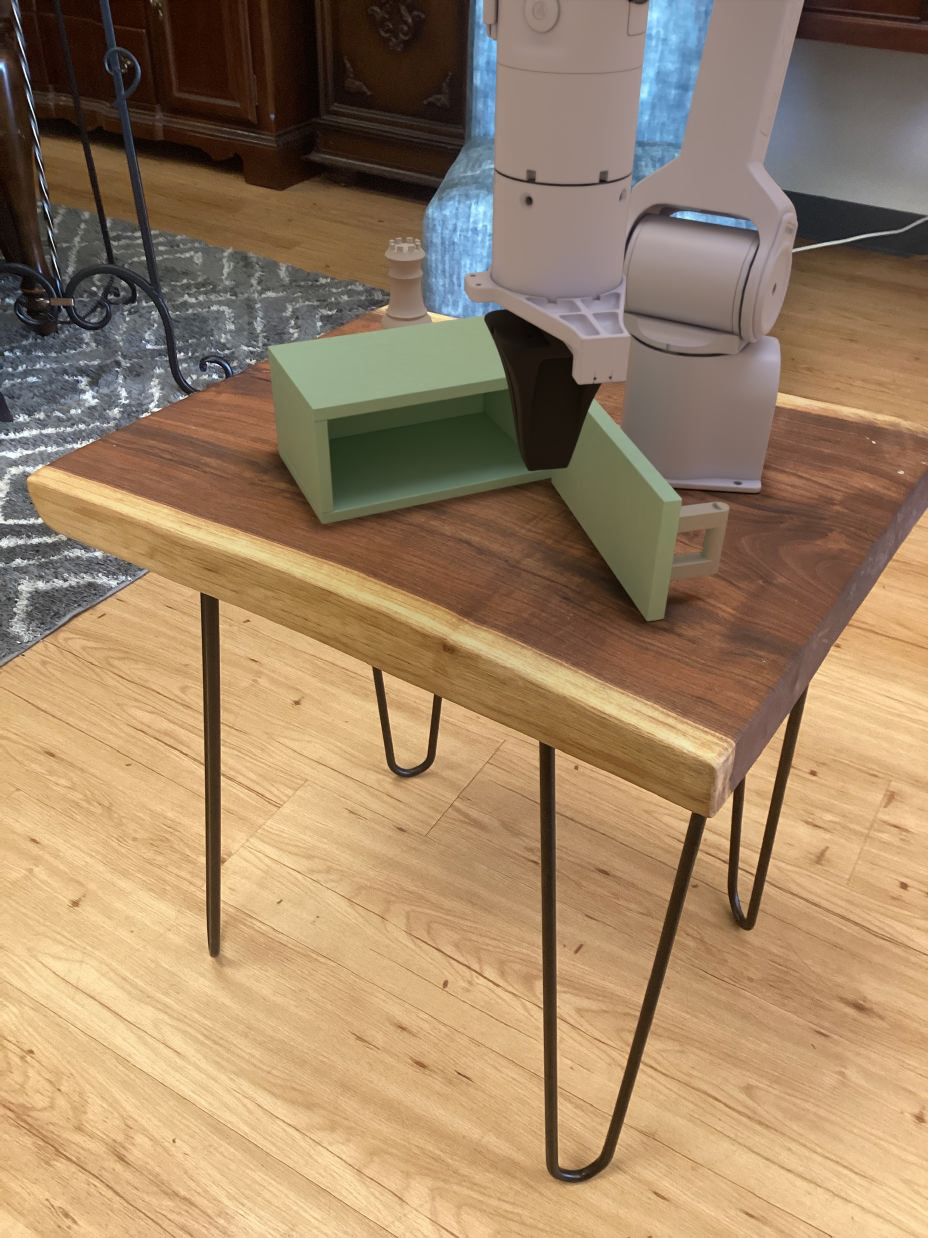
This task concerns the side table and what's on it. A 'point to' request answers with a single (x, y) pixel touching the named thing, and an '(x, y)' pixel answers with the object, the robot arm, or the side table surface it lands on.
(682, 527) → the door
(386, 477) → the cabinet
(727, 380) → the robot arm
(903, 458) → the side table surface
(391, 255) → the rook chess piece
